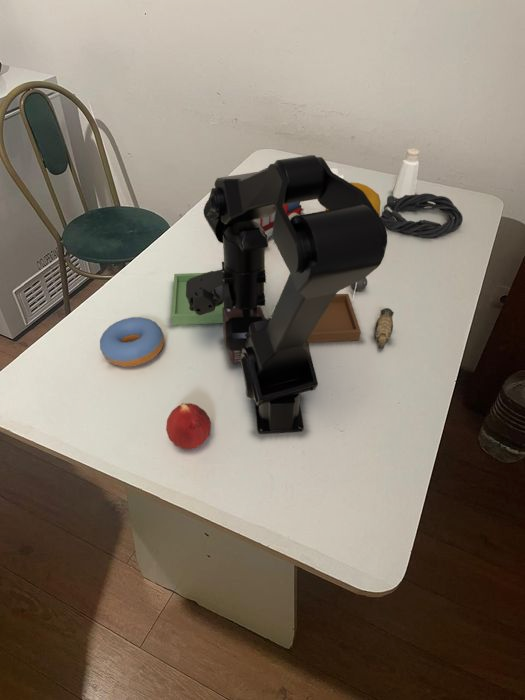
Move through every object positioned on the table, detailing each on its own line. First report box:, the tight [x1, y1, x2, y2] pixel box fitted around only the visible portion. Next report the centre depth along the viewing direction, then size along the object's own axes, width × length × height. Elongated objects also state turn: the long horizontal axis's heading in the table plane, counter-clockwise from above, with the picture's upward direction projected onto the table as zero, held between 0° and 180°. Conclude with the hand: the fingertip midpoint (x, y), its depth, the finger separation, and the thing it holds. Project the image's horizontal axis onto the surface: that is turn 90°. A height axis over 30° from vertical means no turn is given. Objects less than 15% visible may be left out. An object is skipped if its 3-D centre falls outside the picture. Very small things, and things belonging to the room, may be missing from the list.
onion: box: [165, 402, 212, 450], centre depth 68 cm, size 6×6×8 cm
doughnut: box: [99, 316, 165, 368], centre depth 82 cm, size 10×10×5 cm
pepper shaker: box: [392, 147, 420, 198], centre depth 120 cm, size 5×5×11 cm
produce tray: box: [170, 272, 224, 326], centre depth 92 cm, size 12×12×2 cm
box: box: [222, 306, 267, 365], centre depth 81 cm, size 6×6×7 cm
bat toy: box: [350, 277, 368, 302], centre depth 95 cm, size 3×15×5 cm, turn 164°
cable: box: [380, 192, 464, 238], centre depth 113 cm, size 17×14×4 cm
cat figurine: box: [374, 307, 395, 351], centre depth 85 cm, size 3×8×4 cm, turn 165°
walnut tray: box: [307, 293, 361, 344], centre depth 88 cm, size 10×10×2 cm
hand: (245, 342), depth 83 cm, fingers open, 8 cm apart
